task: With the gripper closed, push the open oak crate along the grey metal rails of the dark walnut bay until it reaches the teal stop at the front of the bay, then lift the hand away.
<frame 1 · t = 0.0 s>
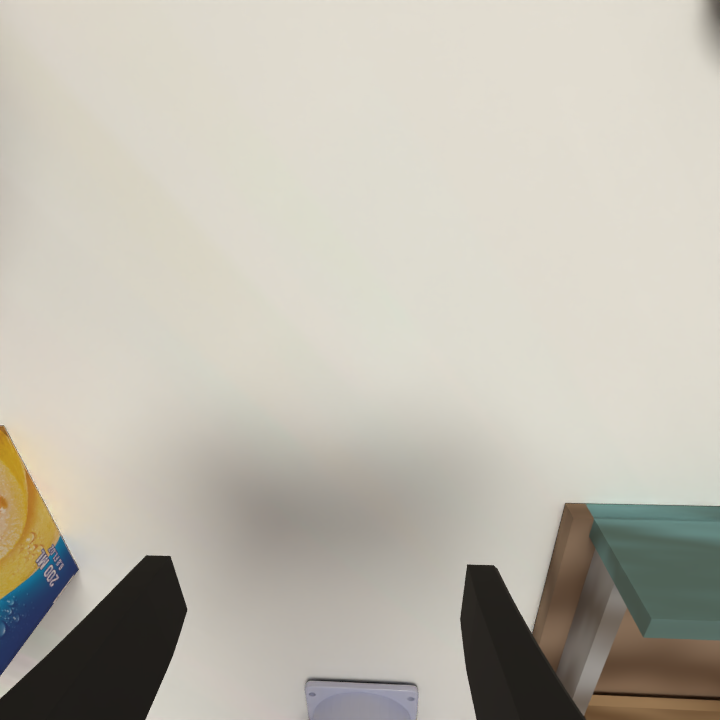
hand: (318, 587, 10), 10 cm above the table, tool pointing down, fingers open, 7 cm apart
bay: (671, 657, 27), on the table
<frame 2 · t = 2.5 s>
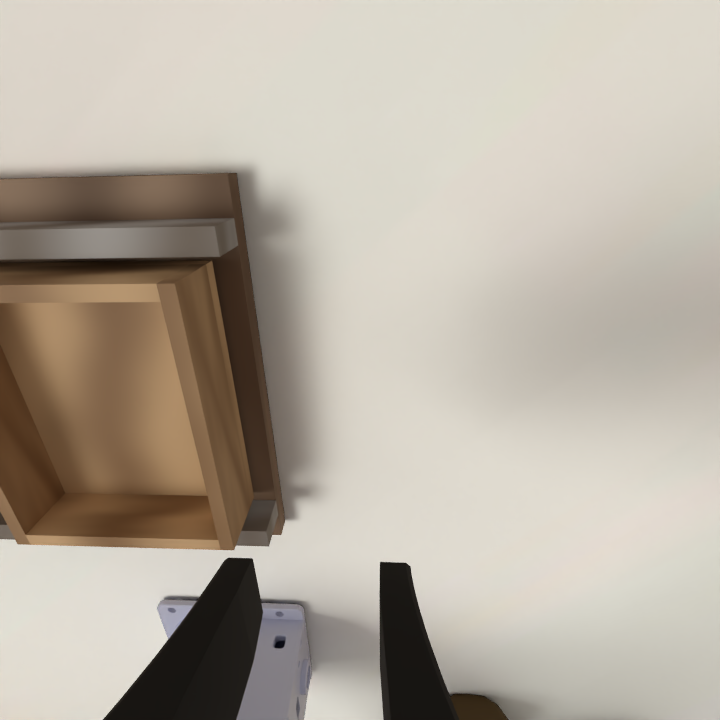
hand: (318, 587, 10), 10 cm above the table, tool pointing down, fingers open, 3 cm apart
bay: (4, 380, 21), on the table
crate: (106, 414, 18), point 3 cm above the table, slide at 0.0 cm
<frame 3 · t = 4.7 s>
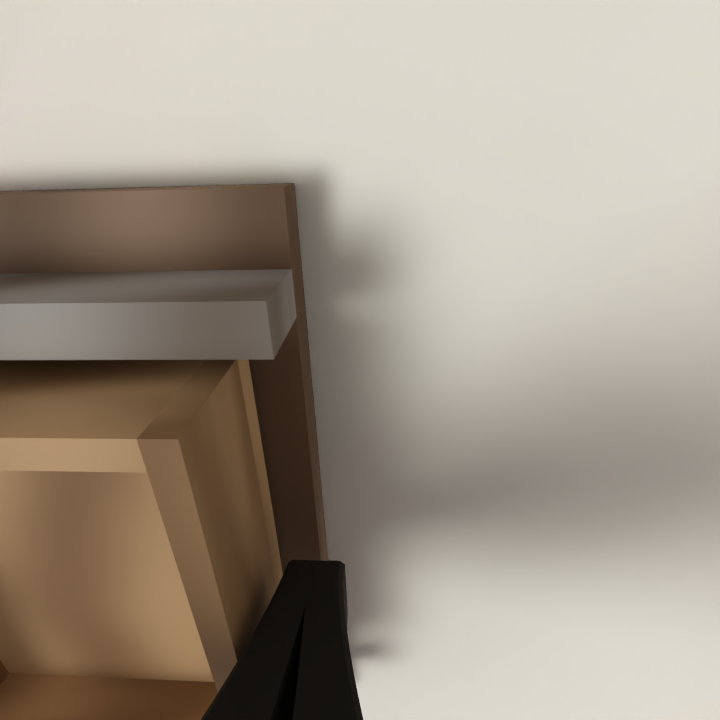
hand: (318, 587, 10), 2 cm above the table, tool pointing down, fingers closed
crate: (60, 599, 10), point 3 cm above the table, slide at 0.1 cm, touching gripper
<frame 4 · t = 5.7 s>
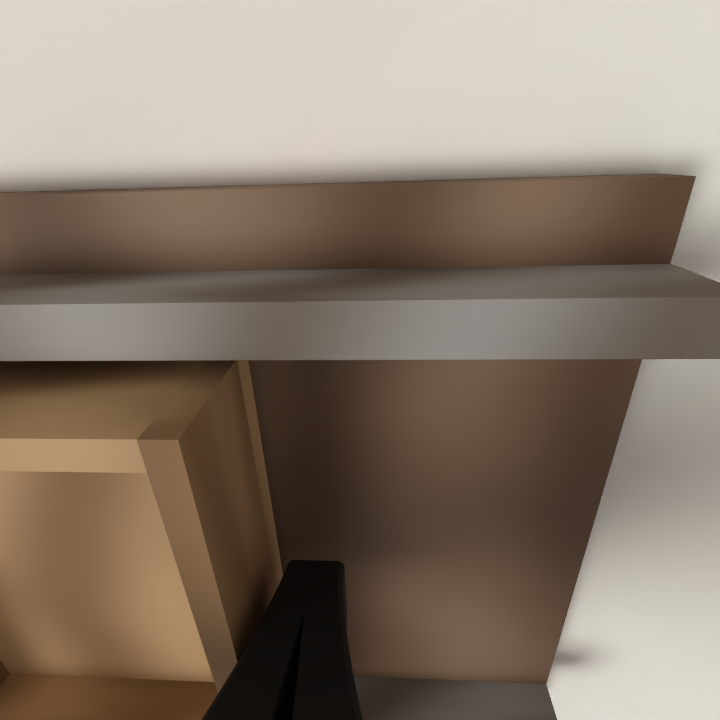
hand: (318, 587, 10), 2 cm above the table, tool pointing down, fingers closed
bay: (132, 509, 13), on the table
crate: (60, 599, 10), point 3 cm above the table, slide at 7.2 cm, touching gripper
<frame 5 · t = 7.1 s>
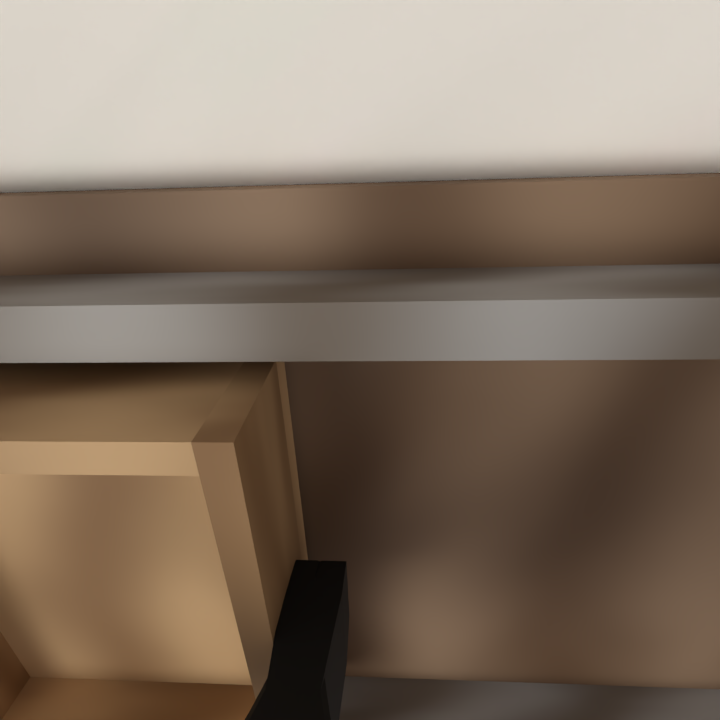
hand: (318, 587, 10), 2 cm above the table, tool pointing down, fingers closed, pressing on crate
bay: (361, 514, 12), on the table
crate: (90, 602, 10), point 3 cm above the table, slide at 13.4 cm, touching gripper
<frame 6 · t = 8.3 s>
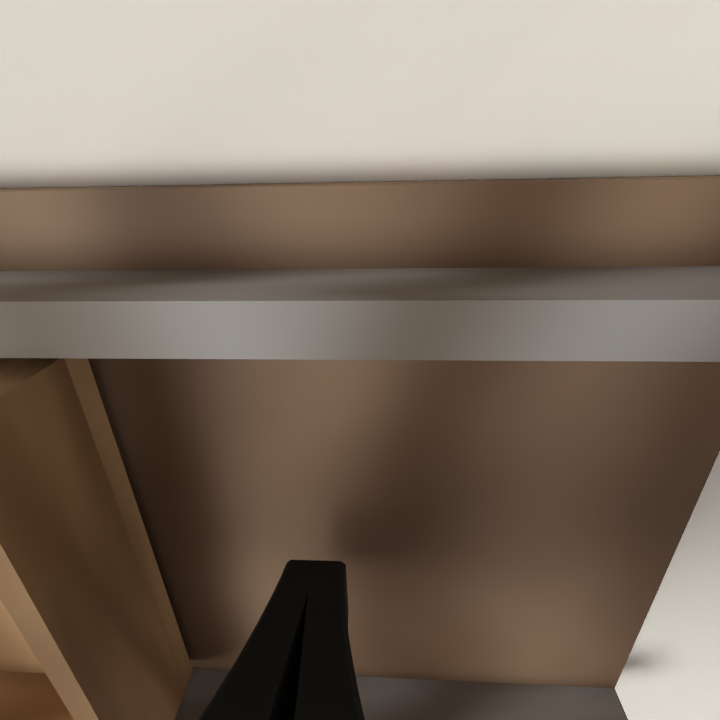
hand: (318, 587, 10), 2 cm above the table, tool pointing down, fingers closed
bay: (205, 509, 13), on the table
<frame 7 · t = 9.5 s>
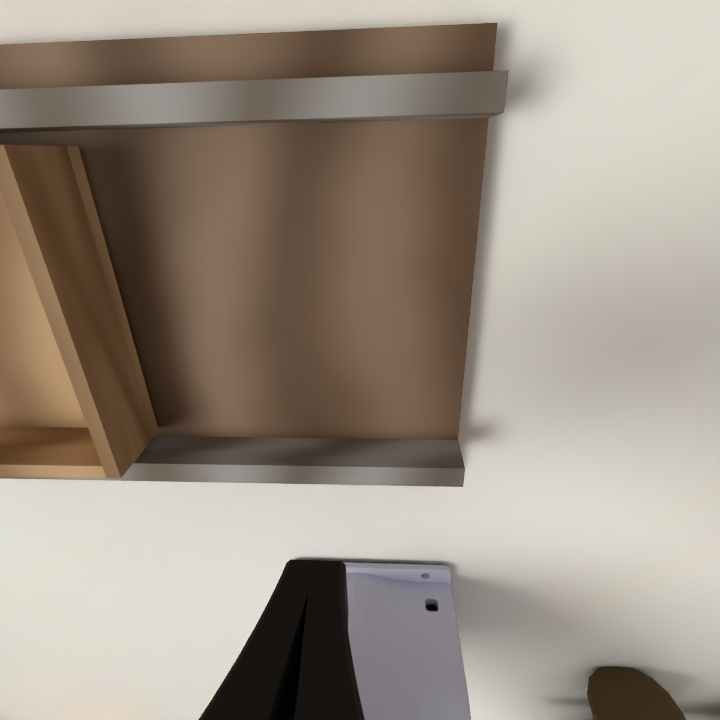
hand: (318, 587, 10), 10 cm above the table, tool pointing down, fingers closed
brown knobbed bar: (650, 698, 30), on the table
bay: (164, 300, 18), on the table
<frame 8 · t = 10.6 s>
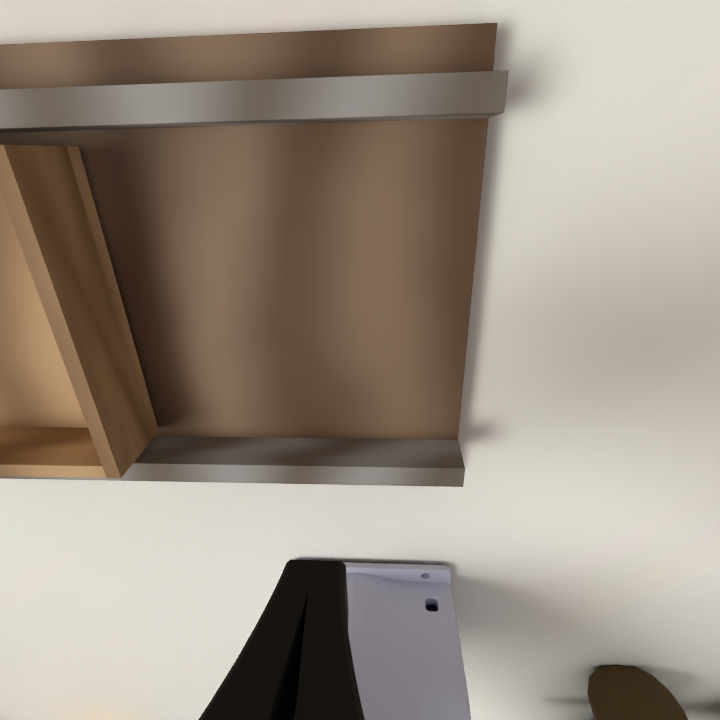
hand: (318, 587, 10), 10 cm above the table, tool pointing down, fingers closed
brown knobbed bar: (653, 696, 30), on the table
bay: (164, 300, 18), on the table
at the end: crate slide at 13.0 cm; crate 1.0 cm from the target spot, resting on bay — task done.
